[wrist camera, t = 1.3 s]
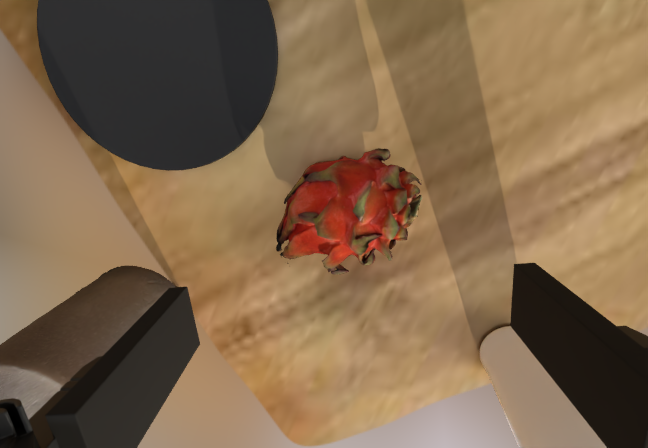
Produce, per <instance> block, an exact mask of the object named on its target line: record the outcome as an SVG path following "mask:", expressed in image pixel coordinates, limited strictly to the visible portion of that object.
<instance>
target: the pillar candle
mask: <svg viewBox="0 0 648 448" xmlns="http://www.w3.org/2000/svg"><path fill="white" fill-rule="evenodd" d="M174 287H175V286H174V285H173V283H171V282H170V281H169V280H167V278H165V277H164V276H162V275H160V274H159V273H156V272H154V271H152V270H149V269H145V268H141V267H137V266H121V267H116V268H114V269H111V270H109V271H108V272H107V273H104V274H102V275H101V276H100V277H99V278H98V279H97V280H95V281H94V282H92V283H91V284H89V285H88V286H86V287H84V288H82V289H81V290H80V291H78V292H76V294H74V295H73V296H72V297H70V298H69V299H67V300H66V301H64V302H63V303H61V304H59V305H58V306H56V307H55V308H53V309H52V310H51V311H49V312H48V313H46V314H45V315H43V316H41V317H40V318H38V319H37V320H35V321H34V322H33V323H31V324H30V325H28V326H27V327H26V328H24V329H22V330H21V331H19V332H18V333H16V334H15V335H13V336H12V337H11V338H9V339H8V340H6V341H5V342H4V343H2V344H1V345H0V400H3V399H11V398H15V399H19V400H20V401H21V403H22V405H23V407H24V410H25V412H26V415H27V417H28V419H30V418H31V417H32V416H33V415H34V414H35V413H36V412H37V411H38V410H39V409H40V408H41V407H42V406H43V405H44V404H45V403H46V402H47V401H48V400H49V399H50V398H51V397H52V396H53V395H54V394H55V393H56V392H57V391H60V388H61V387H62V386H63V385H64V384H65V383H66V382H68V381H70V379H71V378H72V377H73V376H74V375H75V374H76V373H77V372H78V371H79V370H80V369H81V368H82V367H83V366H85V365H86V364H88V363H89V362H91V361H92V360H94V359H95V358H97V357H98V356H103V355H104V354H105V353H106V352H107V351H108V350H109V349H110V348H111V347H112V346H113V345H114V344H115V343H116V342H117V341H118V340H119V339H120V338H121V337H122V336H123V335H124V334H125V333H126V332H127V331H128V330H129V329H130V328H131V327H132V325H133V324H134V323H135V322H136V321H137V320H138V319H139V318H140V317H141V316H142V315H143V314H144V313H145V312H146V311H147V310H148V309H149V308H150V307H151V306H152V305H153V304H154V303H155V302H156V301H157V300H158V299H159V298H160V297H161V296H162V295H163V294H164V293H165V292H166V291H167V290H168V289H169V288H174Z"/></svg>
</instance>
